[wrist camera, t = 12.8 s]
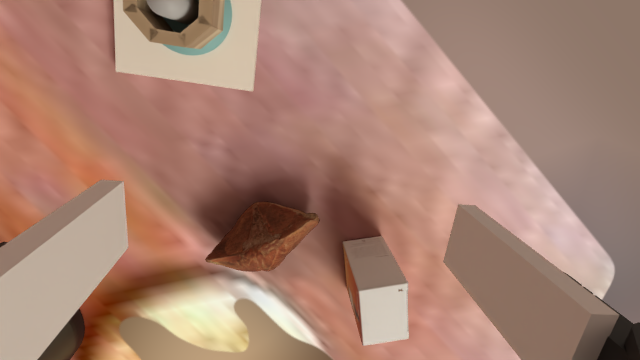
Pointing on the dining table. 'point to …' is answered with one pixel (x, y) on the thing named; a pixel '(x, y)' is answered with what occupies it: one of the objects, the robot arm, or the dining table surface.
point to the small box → (376, 291)
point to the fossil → (262, 237)
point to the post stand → (189, 63)
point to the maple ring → (162, 33)
